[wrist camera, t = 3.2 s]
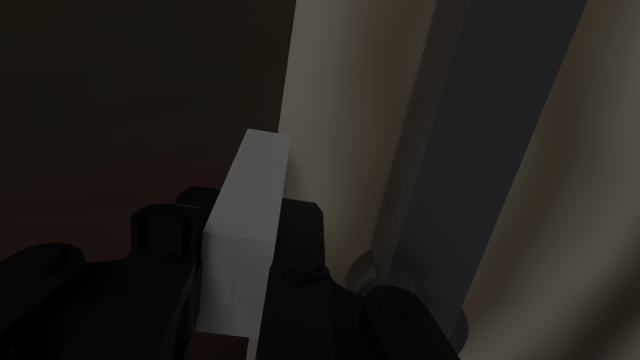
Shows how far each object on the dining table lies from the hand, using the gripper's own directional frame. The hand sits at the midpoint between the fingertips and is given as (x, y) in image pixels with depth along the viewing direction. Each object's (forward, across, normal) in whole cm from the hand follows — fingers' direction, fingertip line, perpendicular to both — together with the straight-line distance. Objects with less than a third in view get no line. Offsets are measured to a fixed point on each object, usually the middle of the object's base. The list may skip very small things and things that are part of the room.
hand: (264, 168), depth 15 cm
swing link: (+1, +6, 0) cm, 6 cm away
